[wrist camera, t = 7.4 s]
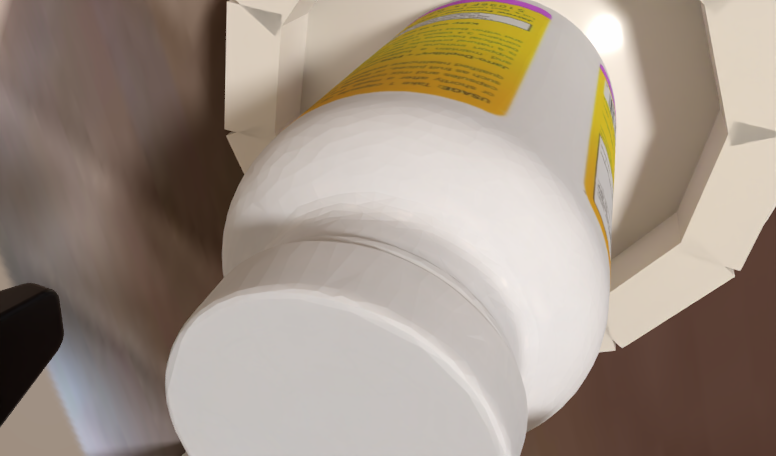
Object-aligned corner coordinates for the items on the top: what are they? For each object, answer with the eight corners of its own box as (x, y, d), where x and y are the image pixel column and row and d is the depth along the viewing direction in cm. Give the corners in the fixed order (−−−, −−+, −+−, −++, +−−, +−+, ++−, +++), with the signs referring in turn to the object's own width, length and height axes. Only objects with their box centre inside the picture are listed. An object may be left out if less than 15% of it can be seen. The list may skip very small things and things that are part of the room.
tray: (675, 386, 23) (680, 444, 20) (239, 251, 26) (202, 288, 23) (951, -165, 14) (1009, -168, 12) (257, -271, 17) (203, -289, 15)
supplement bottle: (337, 100, 20) (15, 375, 10) (501, -69, 17) (282, 69, 6) (487, 256, 21) (344, 661, 11) (671, 126, 18) (734, 536, 7)
